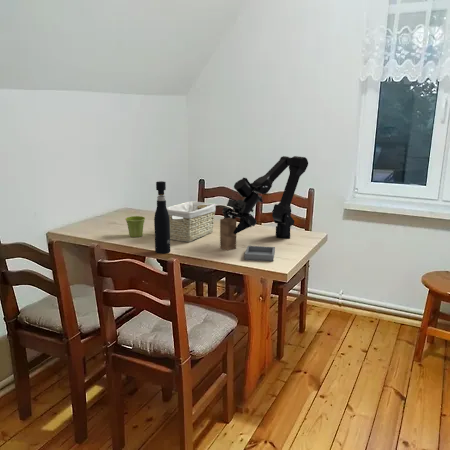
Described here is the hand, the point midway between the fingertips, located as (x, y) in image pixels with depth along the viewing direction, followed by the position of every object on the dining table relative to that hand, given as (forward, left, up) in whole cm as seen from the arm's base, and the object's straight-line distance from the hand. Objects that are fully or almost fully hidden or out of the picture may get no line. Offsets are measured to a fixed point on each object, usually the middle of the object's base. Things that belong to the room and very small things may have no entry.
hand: (227, 231), depth 197 cm
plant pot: (+46, -12, -8) cm, 49 cm away
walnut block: (0, 0, -8) cm, 8 cm away
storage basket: (+21, -18, -8) cm, 28 cm away
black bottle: (+26, +10, -8) cm, 29 cm away
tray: (-15, +8, -8) cm, 19 cm away
